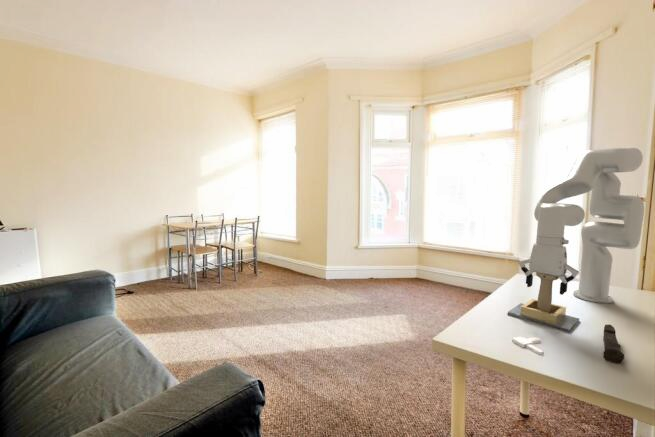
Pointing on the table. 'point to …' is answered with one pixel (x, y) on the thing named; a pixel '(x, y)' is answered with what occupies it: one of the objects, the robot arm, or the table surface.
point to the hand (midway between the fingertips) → (545, 289)
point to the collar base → (545, 315)
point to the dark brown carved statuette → (611, 346)
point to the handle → (545, 291)
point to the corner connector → (528, 343)
